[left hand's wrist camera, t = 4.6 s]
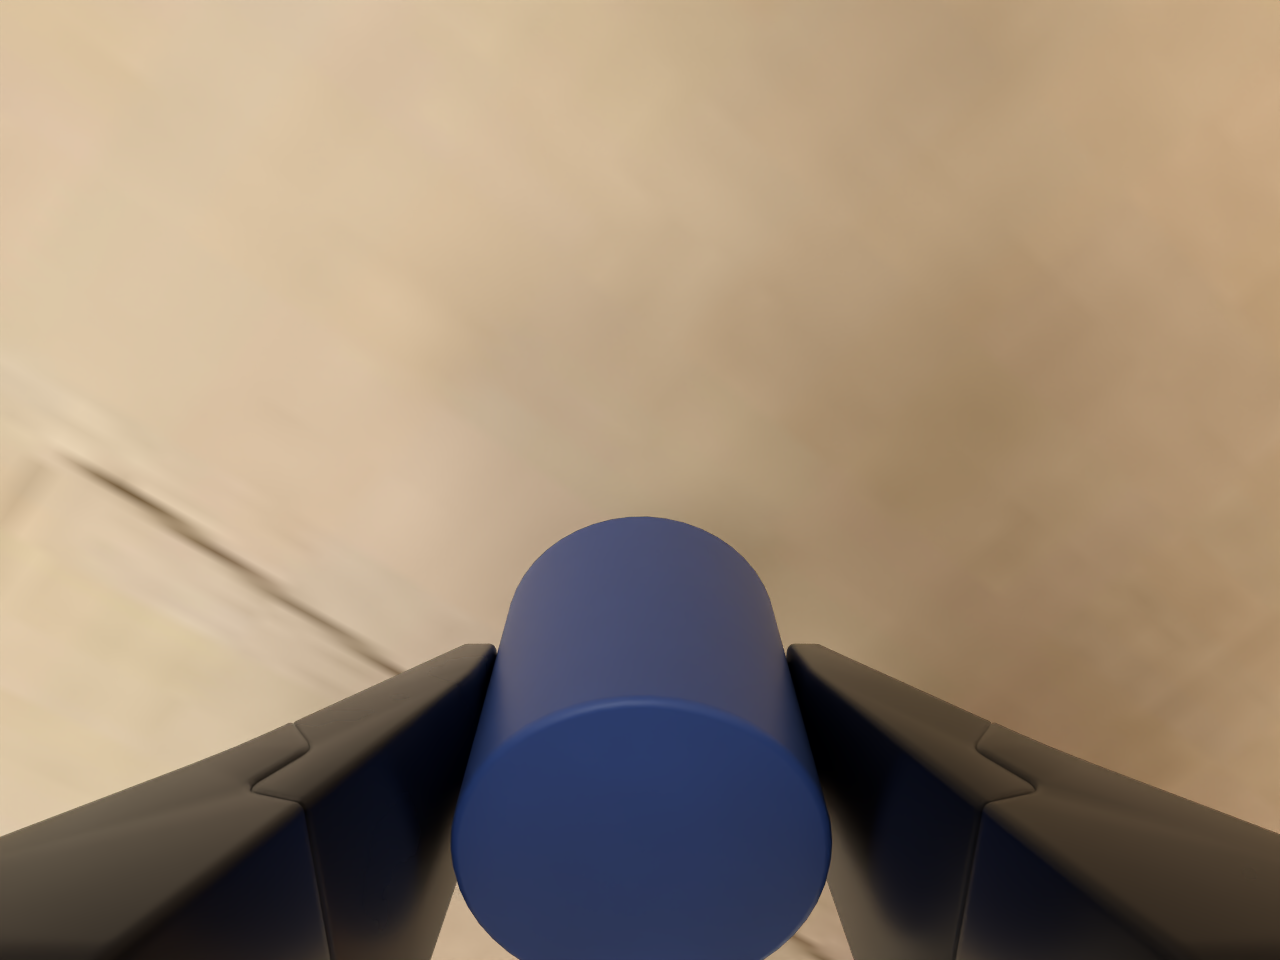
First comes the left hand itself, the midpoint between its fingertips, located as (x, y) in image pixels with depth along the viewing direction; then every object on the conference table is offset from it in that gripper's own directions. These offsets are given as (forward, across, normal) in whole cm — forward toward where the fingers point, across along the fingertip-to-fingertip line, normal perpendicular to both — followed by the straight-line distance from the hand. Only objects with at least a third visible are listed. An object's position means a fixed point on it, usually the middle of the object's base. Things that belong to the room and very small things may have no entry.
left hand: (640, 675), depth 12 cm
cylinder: (+1, 0, 0) cm, 1 cm away
